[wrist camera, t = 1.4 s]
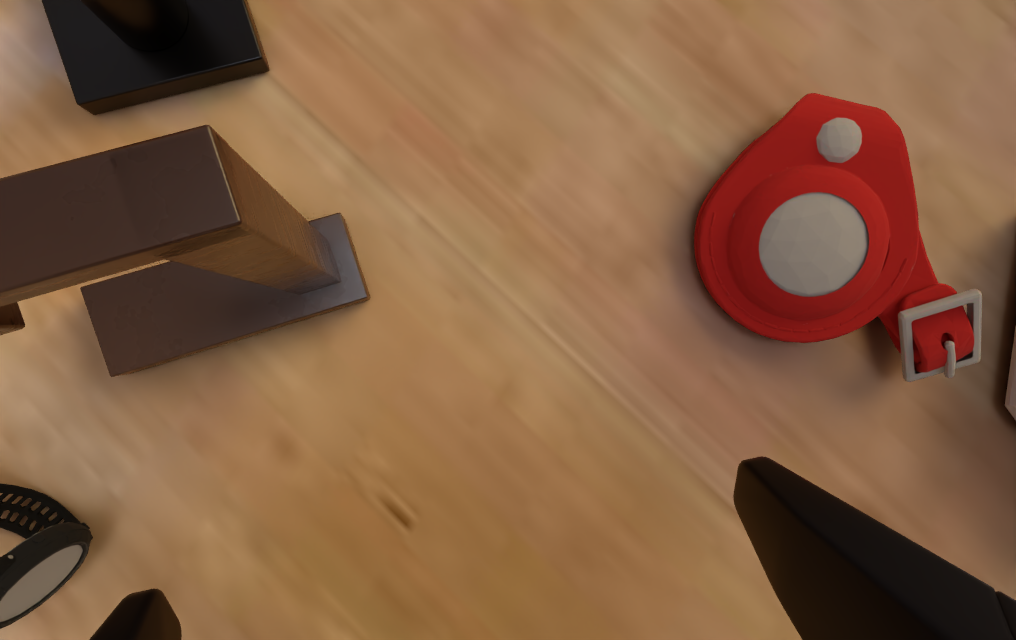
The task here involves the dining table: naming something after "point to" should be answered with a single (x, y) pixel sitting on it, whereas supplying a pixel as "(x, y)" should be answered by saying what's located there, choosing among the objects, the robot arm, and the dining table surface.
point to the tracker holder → (832, 240)
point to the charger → (1012, 383)
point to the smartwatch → (37, 552)
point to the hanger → (170, 248)
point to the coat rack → (152, 47)
